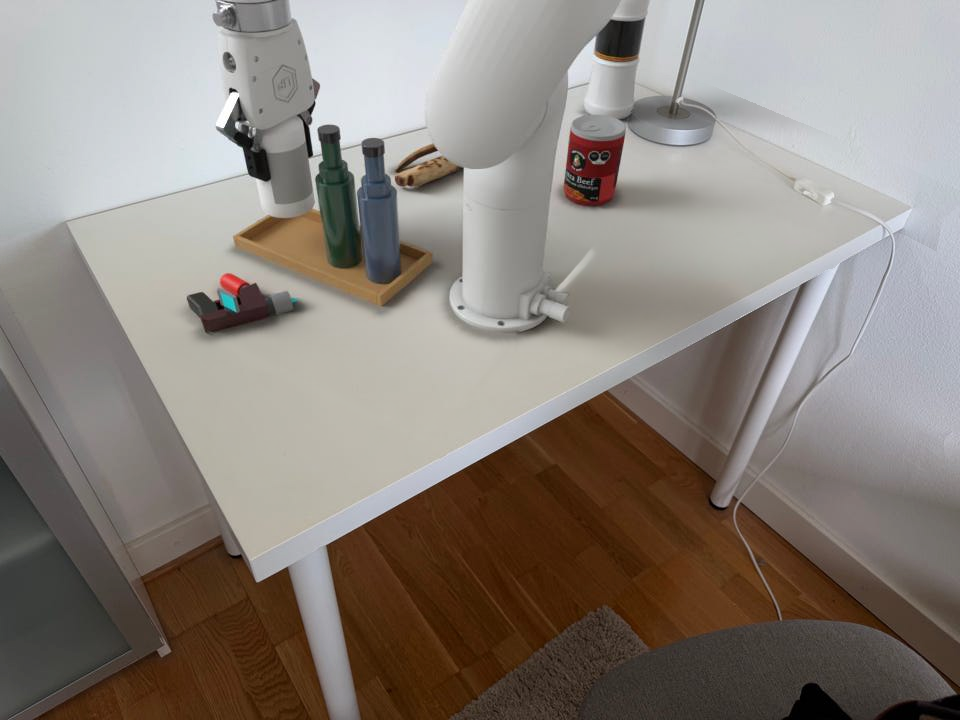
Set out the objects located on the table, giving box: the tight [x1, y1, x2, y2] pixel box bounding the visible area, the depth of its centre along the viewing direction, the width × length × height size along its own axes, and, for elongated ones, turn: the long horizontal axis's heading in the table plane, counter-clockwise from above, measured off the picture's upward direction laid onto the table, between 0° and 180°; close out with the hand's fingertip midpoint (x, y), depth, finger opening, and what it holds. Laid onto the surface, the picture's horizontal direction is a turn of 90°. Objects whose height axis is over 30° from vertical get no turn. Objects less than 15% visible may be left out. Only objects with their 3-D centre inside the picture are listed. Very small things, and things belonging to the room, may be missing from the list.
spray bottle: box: [248, 115, 316, 218], centre depth 84 cm, size 7×7×18 cm
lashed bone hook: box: [394, 142, 463, 188], centre depth 108 cm, size 9×5×18 cm
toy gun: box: [186, 272, 300, 335], centre depth 81 cm, size 10×12×5 cm
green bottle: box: [314, 124, 363, 268], centre depth 84 cm, size 5×5×18 cm
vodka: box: [583, 0, 651, 121], centre depth 119 cm, size 9×9×30 cm
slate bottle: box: [356, 137, 402, 284], centre depth 82 cm, size 5×5×18 cm
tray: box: [232, 208, 434, 307], centre depth 90 cm, size 24×11×2 cm, turn 59°
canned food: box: [563, 114, 627, 207], centre depth 102 cm, size 8×8×11 cm
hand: (281, 165), depth 86 cm, fingers closed on spray bottle, 6 cm apart
